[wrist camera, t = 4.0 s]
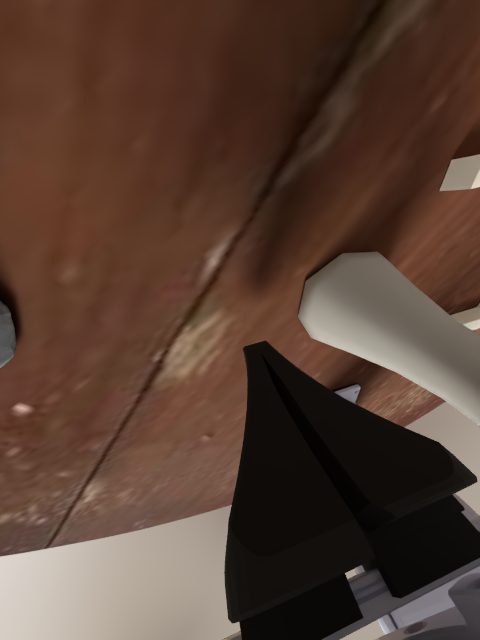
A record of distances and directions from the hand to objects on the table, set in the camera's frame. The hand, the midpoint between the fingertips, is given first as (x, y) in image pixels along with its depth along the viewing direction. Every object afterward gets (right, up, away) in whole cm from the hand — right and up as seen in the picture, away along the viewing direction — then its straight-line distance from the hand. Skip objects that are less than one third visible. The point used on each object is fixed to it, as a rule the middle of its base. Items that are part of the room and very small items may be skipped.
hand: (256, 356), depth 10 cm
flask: (+7, +4, +4) cm, 9 cm away
